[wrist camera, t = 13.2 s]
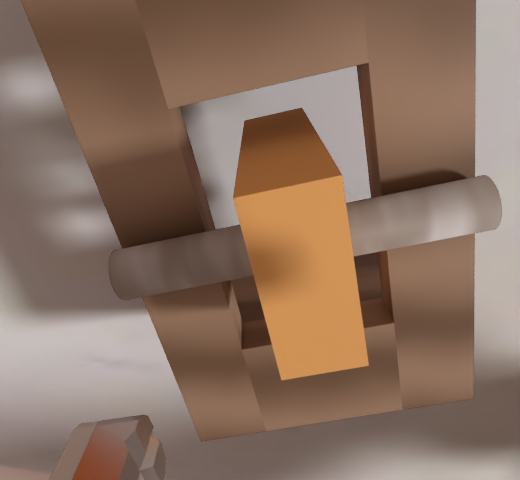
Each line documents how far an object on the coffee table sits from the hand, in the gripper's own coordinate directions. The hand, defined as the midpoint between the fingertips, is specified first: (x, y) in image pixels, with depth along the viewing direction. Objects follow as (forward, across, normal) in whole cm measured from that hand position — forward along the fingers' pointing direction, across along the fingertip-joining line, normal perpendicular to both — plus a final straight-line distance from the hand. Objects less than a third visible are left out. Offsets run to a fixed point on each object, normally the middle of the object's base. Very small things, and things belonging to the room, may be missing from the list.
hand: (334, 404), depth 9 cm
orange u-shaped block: (+16, 0, 0) cm, 16 cm away
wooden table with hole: (+21, 0, 0) cm, 21 cm away
